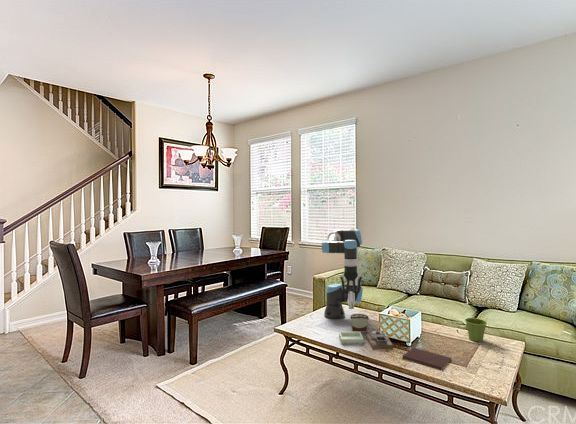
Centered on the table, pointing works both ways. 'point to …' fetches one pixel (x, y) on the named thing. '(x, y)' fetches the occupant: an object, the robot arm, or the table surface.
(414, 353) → the notebook
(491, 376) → the table surface
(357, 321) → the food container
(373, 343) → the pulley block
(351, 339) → the tray
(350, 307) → the pin
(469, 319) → the plant pot
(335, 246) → the robot arm
